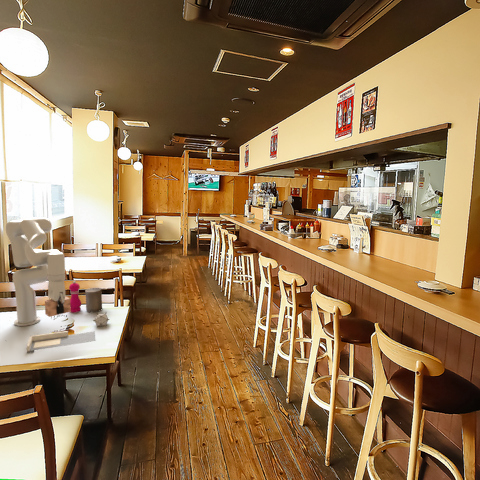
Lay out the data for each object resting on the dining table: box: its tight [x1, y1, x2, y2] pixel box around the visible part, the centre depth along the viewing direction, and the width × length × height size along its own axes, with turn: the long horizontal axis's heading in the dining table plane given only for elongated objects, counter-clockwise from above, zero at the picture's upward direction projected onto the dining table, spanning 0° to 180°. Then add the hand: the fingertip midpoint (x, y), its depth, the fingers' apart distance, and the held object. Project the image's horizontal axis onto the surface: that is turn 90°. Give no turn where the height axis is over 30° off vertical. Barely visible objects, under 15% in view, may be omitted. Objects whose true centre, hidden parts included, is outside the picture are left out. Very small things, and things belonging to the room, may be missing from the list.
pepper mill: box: [68, 280, 82, 314], centre depth 208 cm, size 7×7×20 cm
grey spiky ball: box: [92, 312, 111, 327], centre depth 187 cm, size 9×8×10 cm
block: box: [44, 295, 72, 318], centre depth 163 cm, size 10×5×7 cm, turn 139°
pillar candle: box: [84, 287, 103, 313], centre depth 212 cm, size 10×10×15 cm
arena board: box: [26, 330, 97, 354], centre depth 167 cm, size 12×30×4 cm, turn 116°
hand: (58, 311), depth 164 cm, fingers closed on block, 5 cm apart
